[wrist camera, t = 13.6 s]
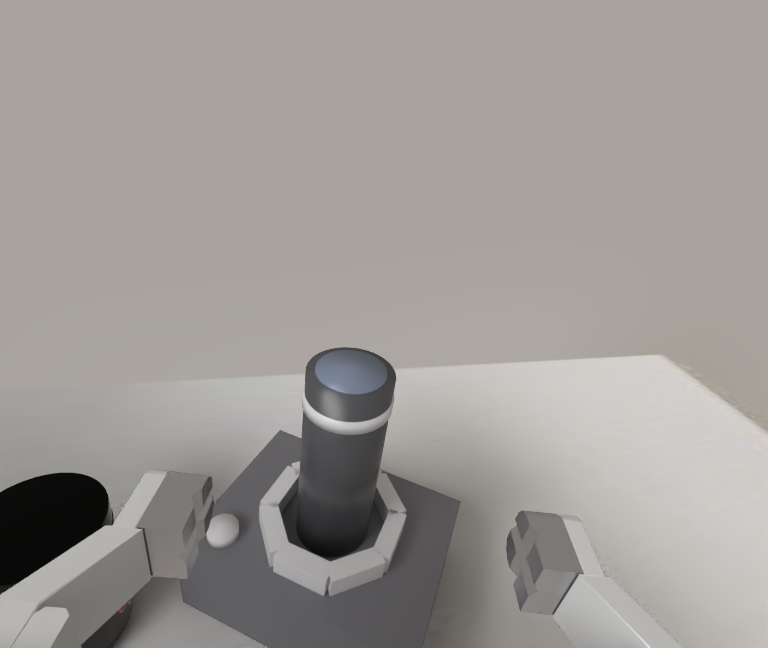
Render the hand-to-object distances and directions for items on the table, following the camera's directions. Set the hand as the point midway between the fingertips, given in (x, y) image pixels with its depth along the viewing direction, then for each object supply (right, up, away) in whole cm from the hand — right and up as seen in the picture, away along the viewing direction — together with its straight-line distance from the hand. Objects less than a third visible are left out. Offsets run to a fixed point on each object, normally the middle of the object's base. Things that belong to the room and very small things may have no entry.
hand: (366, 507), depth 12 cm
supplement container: (-20, -15, +17) cm, 30 cm away
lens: (-3, -9, +19) cm, 21 cm away
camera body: (-4, -14, +22) cm, 26 cm away
